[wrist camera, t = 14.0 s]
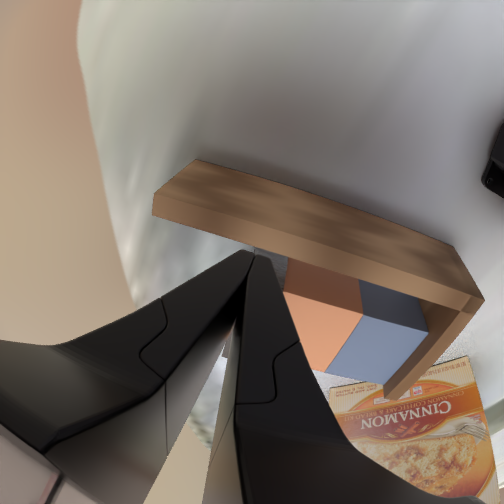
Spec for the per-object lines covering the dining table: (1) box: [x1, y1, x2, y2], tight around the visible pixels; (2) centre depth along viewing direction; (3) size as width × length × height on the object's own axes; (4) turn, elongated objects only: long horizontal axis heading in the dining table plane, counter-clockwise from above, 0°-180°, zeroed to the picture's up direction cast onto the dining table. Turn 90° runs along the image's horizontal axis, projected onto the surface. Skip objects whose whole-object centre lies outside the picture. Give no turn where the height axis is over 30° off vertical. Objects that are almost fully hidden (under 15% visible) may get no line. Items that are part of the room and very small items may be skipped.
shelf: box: [152, 159, 485, 401], centre depth 20 cm, size 19×10×6 cm, turn 76°
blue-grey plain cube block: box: [324, 279, 429, 385], centre depth 21 cm, size 5×6×5 cm
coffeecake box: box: [329, 356, 500, 504], centre depth 20 cm, size 15×7×20 cm, turn 113°
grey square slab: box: [222, 247, 288, 358], centre depth 21 cm, size 2×6×6 cm, turn 166°
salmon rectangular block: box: [283, 257, 363, 372], centre depth 21 cm, size 5×6×5 cm
